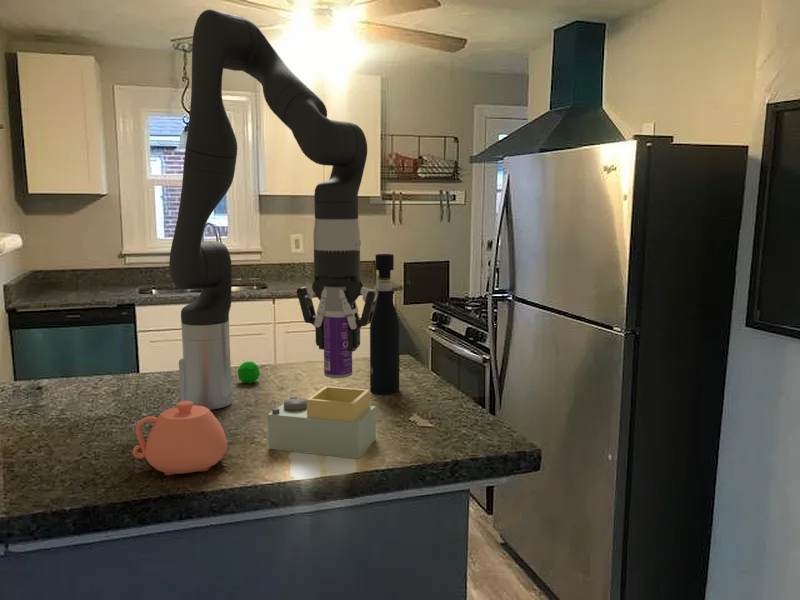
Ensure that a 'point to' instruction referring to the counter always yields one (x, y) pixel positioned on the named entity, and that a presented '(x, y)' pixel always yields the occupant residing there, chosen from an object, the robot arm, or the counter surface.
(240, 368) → the polyhedron
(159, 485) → the counter surface
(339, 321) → the container
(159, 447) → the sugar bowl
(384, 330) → the wine bottle
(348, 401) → the grey-green box with tray
